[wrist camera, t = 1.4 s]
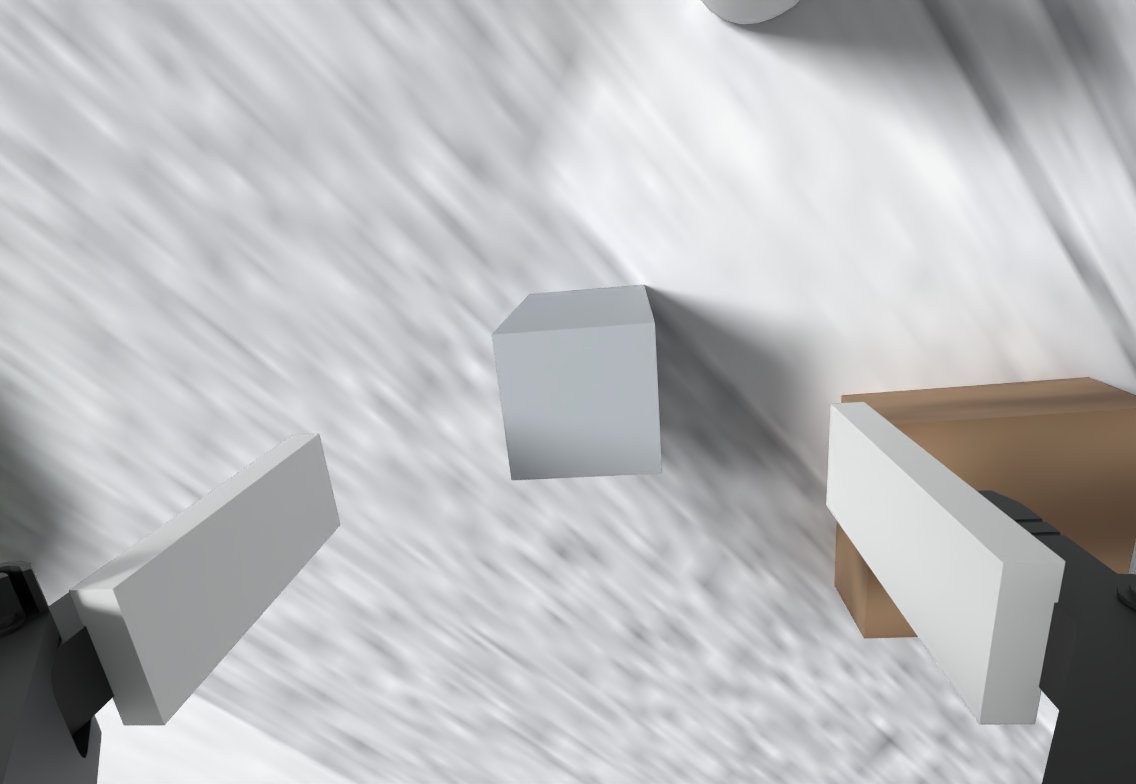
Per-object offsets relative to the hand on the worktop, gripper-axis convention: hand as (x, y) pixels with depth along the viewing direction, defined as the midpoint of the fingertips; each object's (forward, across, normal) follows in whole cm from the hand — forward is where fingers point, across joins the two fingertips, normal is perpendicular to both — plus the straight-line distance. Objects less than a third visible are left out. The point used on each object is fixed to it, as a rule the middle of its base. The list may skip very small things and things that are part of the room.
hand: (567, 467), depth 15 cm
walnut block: (+12, +16, -8) cm, 22 cm away
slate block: (+12, 0, 0) cm, 12 cm away
